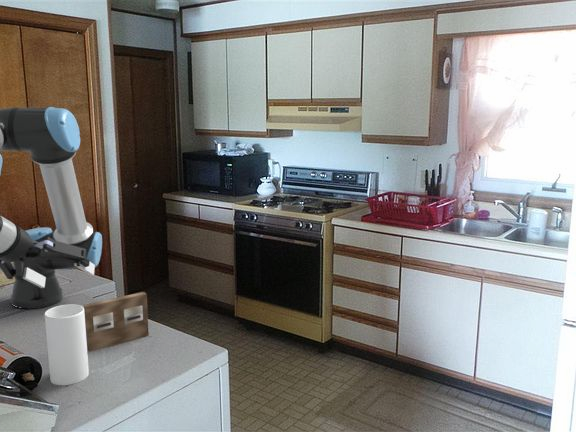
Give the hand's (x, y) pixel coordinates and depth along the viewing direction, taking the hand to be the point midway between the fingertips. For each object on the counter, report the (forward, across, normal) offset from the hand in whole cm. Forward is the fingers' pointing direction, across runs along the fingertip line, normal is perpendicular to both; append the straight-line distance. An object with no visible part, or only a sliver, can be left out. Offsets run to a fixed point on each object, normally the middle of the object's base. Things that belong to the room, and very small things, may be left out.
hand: (68, 276), depth 125 cm
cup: (+7, -2, -22) cm, 23 cm away
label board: (+23, -1, -9) cm, 24 cm away
